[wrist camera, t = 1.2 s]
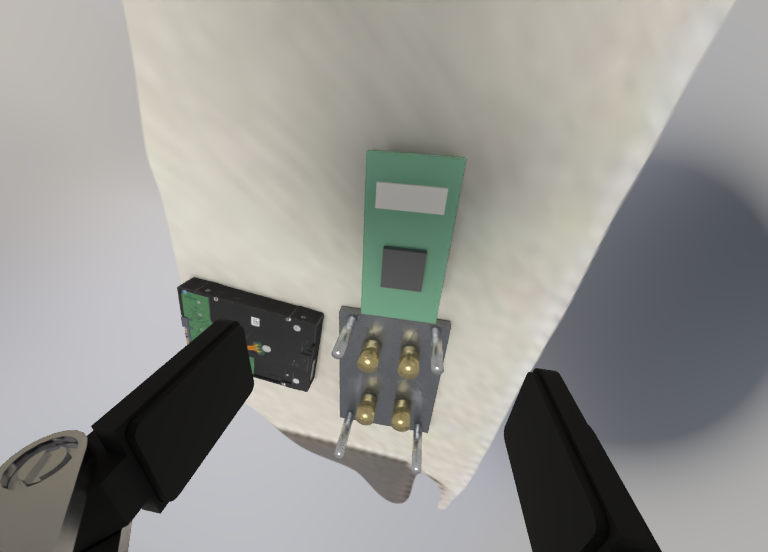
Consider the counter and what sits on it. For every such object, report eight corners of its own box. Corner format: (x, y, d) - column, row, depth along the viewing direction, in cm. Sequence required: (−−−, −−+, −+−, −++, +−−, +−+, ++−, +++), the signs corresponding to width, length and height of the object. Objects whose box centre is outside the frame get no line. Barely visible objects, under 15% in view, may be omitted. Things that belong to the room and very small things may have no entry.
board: (372, 149, 19) (364, 151, 16) (462, 157, 18) (467, 159, 16) (365, 300, 24) (359, 317, 22) (435, 309, 24) (435, 328, 21)
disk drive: (326, 307, 30) (194, 274, 30) (317, 323, 27) (173, 286, 28) (316, 375, 34) (202, 345, 35) (308, 393, 32) (185, 361, 32)
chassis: (342, 306, 28) (322, 344, 23) (450, 321, 27) (455, 365, 22) (342, 410, 36) (327, 457, 30) (427, 425, 35) (427, 477, 29)
